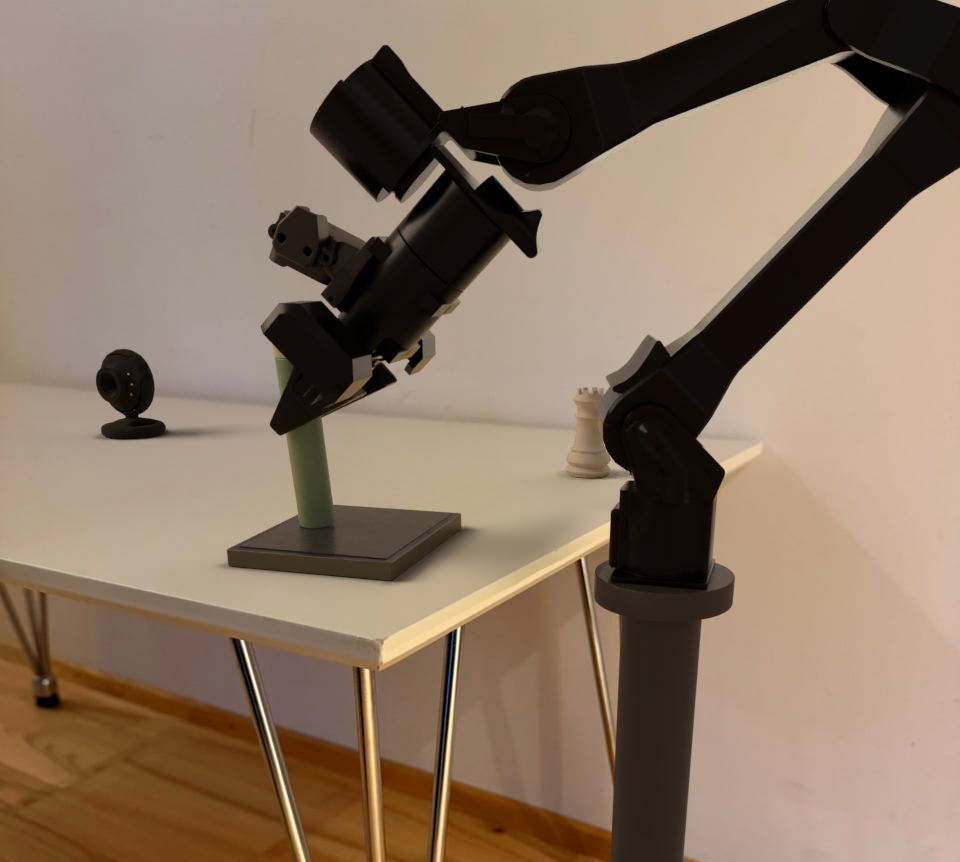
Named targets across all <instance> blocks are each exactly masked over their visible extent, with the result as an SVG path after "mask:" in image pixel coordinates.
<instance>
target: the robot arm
mask: <svg viewBox="0 0 960 862" xmlns="http://www.w3.org/2000/svg"><path fill="white" fill-rule="evenodd" d="M826 64H830V65H832V66H833V67H834V68H837V69H838V70H840V71H841V72H843V73H844V74H846V75H847V76H848V77H849V78H850V79H851V80H853V81H854V82H855V83H856V84H857V85H858V86H860V87H861V89H863V90H864V91H866V92H867V93H868V94H869V95H870V96H871V97H872V98H874V99H875V100H877V101H878V102H879V103H881V104H883V105H885V106H886V108H885V110H884V111H883V112H882V114H881V116H880V118H879V119H878V121H877V123H876V125H875V127H874V128H873V130H872V132H871V134H870V135H869V136H868V137H869V138H868V139H867V141H866V142H865V145H864V146H863V148H862V149H861V151H860V153H858V156H857V157H856V158H855V160H854V161H853V162H851V164H850V165H849V166H848V167H847V168H846V169H845V171H843V172H842V174H840V175H839V176H838V178H837V179H836V180H834V182H833V183H832V184H830V186H829V187H828V188H827V189H826V190H825V191H824V192H823V193H822V194H821V195H820V196H819V198H817V199H816V200H815V201H814V202H813V203H812V204H811V206H810V207H808V208H807V210H806V211H805V212H804V213H803V214H802V215H801V216H800V217H799V218H798V219H797V220H796V221H795V222H794V223H793V224H792V225H791V226H790V227H789V228H788V229H787V230H786V232H784V233H783V234H782V235H781V237H780V238H778V239H777V241H775V243H774V244H773V245H772V246H771V247H770V248H769V249H768V250H767V251H766V252H765V253H764V254H763V255H762V256H761V257H760V258H759V259H758V260H757V261H756V262H755V263H754V265H752V266H751V267H750V269H748V270H747V272H746V273H745V274H744V275H743V276H741V278H740V279H739V280H738V281H737V282H736V283H735V284H734V285H733V286H732V287H731V288H730V289H729V290H728V291H727V292H726V293H725V294H724V295H723V297H721V299H720V300H719V301H718V302H717V303H716V304H715V305H714V306H713V307H711V309H710V310H709V311H708V312H707V313H706V314H705V315H704V316H703V317H702V318H701V319H700V320H699V322H697V323H696V324H695V326H694V327H692V328H691V329H690V330H689V331H687V332H685V333H684V334H683V335H681V336H679V337H677V338H676V339H674V340H673V341H671V342H669V343H668V344H667V345H664V344H663V342H662V341H661V340H660V339H658V338H656V336H654V335H652V334H647V335H646V336H645V337H644V338H643V340H642V341H641V342H640V343H639V345H638V347H636V350H635V351H634V352H633V354H632V355H631V357H630V358H629V360H627V362H626V363H625V364H624V365H622V366H621V367H620V368H619V369H618V370H615V371H612V372H611V373H609V374H607V375H606V376H605V380H606V382H607V383H608V385H609V387H608V388H607V390H606V392H605V393H604V396H603V397H602V398H601V401H600V404H599V406H598V427H599V430H600V433H601V436H602V439H603V442H604V446H605V447H606V452H607V453H608V454H609V456H610V459H612V461H613V462H614V463H615V464H616V465H618V466H619V467H620V468H622V469H624V470H625V471H627V472H628V473H629V475H630V476H631V477H632V480H631V479H629V480H626V481H625V482H624V484H623V485H622V486H621V487H620V488H619V499H618V502H617V503H616V504H615V505H614V507H613V508H612V509H611V510H610V521H609V541H608V542H609V543H608V544H609V545H608V546H609V547H608V560H609V565H610V567H611V568H615V569H614V571H613V572H612V574H611V581H612V582H615V583H625V584H637V585H648V586H660V587H672V588H683V589H695V590H705V589H707V588H708V585H709V582H710V579H711V576H712V573H713V570H714V567H715V563H716V558H713V555H714V544H715V543H714V542H715V532H716V531H715V530H716V529H715V528H716V517H717V505H718V492H719V490H720V487H721V485H722V483H723V480H724V478H725V476H726V471H725V468H724V467H723V466H722V465H721V464H720V462H719V461H718V460H717V459H716V458H715V457H714V456H713V455H712V454H711V453H710V452H709V450H708V449H707V448H706V447H705V446H704V445H703V444H702V442H701V441H699V440H698V437H699V436H700V434H702V432H703V431H704V429H705V428H706V426H707V425H708V424H709V422H710V421H711V420H712V418H713V417H714V415H715V413H716V411H717V409H718V408H719V406H720V404H721V403H722V400H723V399H724V397H725V395H726V393H727V391H728V390H729V388H730V386H731V384H732V382H733V381H734V379H735V378H736V376H737V375H738V374H739V372H740V371H741V370H742V369H743V368H744V367H745V366H746V365H747V364H748V363H749V362H750V361H751V360H752V359H753V358H754V357H755V356H756V355H757V354H758V353H759V352H760V351H762V349H763V348H764V347H766V345H767V344H769V342H770V341H771V340H772V339H773V338H774V337H775V336H776V335H777V334H778V333H779V332H780V331H781V330H782V329H783V328H784V327H785V326H786V325H787V324H788V323H789V322H790V321H791V320H792V319H793V318H794V317H795V316H796V315H797V314H798V313H799V312H800V311H801V310H802V309H803V308H804V307H805V306H806V305H807V304H808V303H809V302H810V301H811V300H812V299H814V297H816V295H817V294H818V293H819V292H821V290H822V289H824V287H825V286H826V285H827V284H828V283H829V282H831V280H832V279H833V278H834V277H835V276H836V275H837V274H838V273H839V272H840V271H841V270H843V268H844V267H846V266H847V264H848V263H850V262H851V260H852V259H854V258H855V256H856V255H858V253H860V251H861V250H862V249H864V247H865V246H866V245H867V244H868V243H869V242H871V240H872V239H873V238H874V237H875V236H876V235H878V233H879V232H881V230H882V229H883V228H885V226H886V225H887V224H888V223H889V222H891V220H893V218H895V217H896V216H897V214H899V213H900V211H901V210H902V209H904V208H905V207H906V205H908V204H909V202H911V201H912V199H915V197H917V196H918V195H920V194H921V193H923V192H924V191H926V190H927V189H929V188H930V187H932V186H934V185H935V184H937V183H938V182H940V181H942V180H943V179H945V178H946V177H948V176H949V175H951V174H952V173H954V172H955V171H957V170H959V169H960V6H957V5H954V4H950V3H949V2H945V1H941V0H784V1H782V2H778V3H775V4H773V5H771V6H769V7H766V8H764V9H760V10H759V11H756V12H753V13H751V14H748V15H746V16H743V17H741V18H739V19H736V20H733V21H731V22H728V23H726V24H723V25H721V26H718V27H715V28H713V29H710V30H708V31H706V32H703V33H701V34H697V35H696V36H693V37H691V38H687V39H685V40H683V41H680V42H678V43H675V44H673V45H670V46H667V47H665V48H663V49H660V50H658V51H655V52H653V53H650V54H647V55H645V56H642V57H639V58H636V59H630V60H626V61H621V62H620V61H619V62H614V63H603V64H591V65H589V64H588V65H582V66H581V65H580V66H575V67H571V68H565V69H560V70H554V71H550V72H545V73H539V74H538V73H537V74H534V75H530V76H527V77H524V78H521V79H520V80H518V81H517V82H515V83H513V84H512V85H511V86H509V88H508V89H506V90H505V92H504V93H503V94H502V95H501V97H500V99H499V100H497V101H492V102H486V103H481V104H476V105H475V104H474V105H470V106H469V105H468V106H464V105H461V106H460V107H459V108H453V109H447V110H444V109H442V107H441V106H440V105H439V103H437V102H436V101H435V99H434V98H433V97H431V96H430V94H429V93H428V92H427V91H426V90H425V89H424V88H423V86H421V85H420V84H419V83H418V81H417V80H416V79H415V78H414V77H413V76H412V75H411V72H410V71H409V69H408V67H407V66H406V64H405V63H404V61H403V60H402V59H401V58H400V57H399V55H398V54H397V53H396V52H395V51H394V50H393V49H392V48H391V46H389V44H383V45H381V47H380V48H379V49H378V50H377V52H376V53H375V54H374V55H373V56H372V57H371V58H370V59H368V60H366V61H364V62H363V63H361V64H360V65H358V67H356V68H355V69H354V70H353V71H352V72H351V73H350V74H349V75H348V76H347V77H346V78H344V80H343V79H342V78H340V79H339V80H338V81H337V82H336V83H335V84H334V86H333V87H332V89H331V90H330V91H329V92H328V93H327V95H326V96H325V97H324V99H323V100H322V102H321V103H320V105H319V106H318V108H317V110H316V112H315V114H314V115H313V118H312V119H311V122H310V126H309V133H310V135H312V137H313V138H314V139H315V140H316V141H317V142H318V143H319V144H320V145H321V146H322V147H323V148H324V149H325V150H326V151H327V152H328V153H329V155H330V156H331V157H333V159H335V160H336V162H337V163H338V164H339V165H340V166H341V167H342V168H343V169H344V170H345V171H346V172H347V173H348V174H349V175H350V176H351V177H352V178H353V179H354V180H355V182H357V184H359V186H360V187H361V188H362V189H364V191H365V192H366V193H367V194H368V195H369V196H370V197H371V198H372V199H373V200H374V201H375V202H376V203H381V202H383V201H384V200H386V199H387V198H388V197H390V196H391V195H392V194H394V198H395V199H396V200H397V201H398V202H399V204H404V203H406V201H408V200H409V199H411V197H412V196H413V195H414V194H415V193H416V192H417V191H418V190H419V189H420V188H421V187H422V186H423V184H424V183H426V182H427V180H428V179H429V177H430V176H431V175H432V173H434V172H435V170H436V168H437V167H438V166H439V165H441V167H442V168H443V169H444V170H443V171H442V173H440V175H439V176H438V177H437V179H436V180H435V181H434V182H433V183H432V184H431V186H430V187H429V188H428V189H427V191H426V192H424V194H423V195H422V196H421V198H419V200H418V201H417V202H416V204H415V205H413V207H412V208H411V209H410V210H409V212H408V213H407V214H406V215H405V216H404V217H403V219H402V220H401V221H400V222H399V223H398V225H396V227H395V228H394V229H393V230H392V231H391V233H390V234H389V236H384V235H383V236H380V235H378V236H371V237H370V238H369V239H368V240H367V241H365V240H364V239H362V238H360V237H358V236H356V235H354V234H352V233H350V232H348V231H347V230H345V229H342V228H341V227H339V226H337V225H335V224H333V223H331V222H329V221H328V218H327V216H325V215H323V214H318V213H315V212H312V211H311V208H310V207H308V206H306V205H295V206H293V208H292V209H291V210H288V209H285V210H283V211H280V212H279V215H278V218H277V220H276V221H275V223H271V224H269V226H268V228H267V234H268V237H269V238H270V239H271V240H272V241H271V244H272V247H271V250H270V253H269V256H268V259H269V261H270V262H272V263H274V264H276V265H278V266H279V267H281V268H286V267H287V268H289V269H292V270H294V271H296V272H298V273H300V274H301V275H304V276H306V277H308V278H309V279H312V280H313V281H314V282H316V283H319V284H321V285H324V286H326V287H325V288H324V289H323V290H322V292H320V296H321V297H322V298H323V299H324V300H325V301H326V302H327V303H328V304H329V305H330V306H331V307H332V308H333V309H336V310H337V311H338V312H339V314H338V316H336V314H335V313H333V312H332V310H330V308H329V307H328V306H327V305H326V304H325V303H324V302H323V301H322V300H295V301H287V302H286V301H285V302H278V303H277V304H276V306H275V307H274V308H273V310H272V311H271V312H270V313H269V315H268V316H267V317H266V318H265V320H264V321H263V322H262V324H261V325H260V329H261V332H262V335H263V336H264V337H265V338H266V339H267V340H268V341H269V342H270V343H271V344H272V346H273V345H274V346H275V347H276V348H277V349H278V350H279V351H280V352H281V353H282V354H283V356H284V357H285V358H286V359H287V360H288V361H289V362H290V363H291V364H292V365H293V369H292V372H291V374H290V377H289V380H288V382H287V384H286V387H285V389H284V391H283V394H282V396H281V397H280V398H279V401H278V403H277V406H276V408H275V410H274V412H273V414H272V417H271V419H270V422H269V427H270V428H271V429H272V431H274V432H275V433H276V435H278V436H284V435H286V433H288V432H290V431H292V430H294V429H296V428H298V427H300V426H302V425H304V424H306V423H308V422H310V421H312V420H315V419H317V418H319V417H322V418H325V417H327V416H329V415H331V414H332V413H335V412H337V411H339V410H341V409H344V408H345V407H346V408H347V407H348V406H350V405H352V404H354V403H356V402H359V401H361V400H363V399H365V398H367V397H369V396H372V395H373V394H375V393H377V392H380V391H382V390H384V389H386V388H388V387H391V386H392V385H395V384H396V383H397V382H398V379H397V377H396V375H395V374H394V373H393V372H392V371H391V370H390V369H389V368H388V367H387V365H386V364H388V365H391V364H394V363H396V362H400V361H403V360H408V362H407V363H406V365H405V367H404V369H403V370H404V372H406V374H407V375H409V376H413V375H416V374H419V373H420V372H421V371H423V369H424V368H425V367H426V366H427V365H428V364H429V362H430V361H431V360H433V358H434V357H435V356H436V353H437V351H436V336H435V334H434V333H433V332H432V331H431V330H430V329H432V327H434V325H435V324H436V323H437V322H438V320H439V319H441V318H442V316H444V315H445V316H446V315H449V314H452V313H453V312H454V311H455V309H456V308H458V306H459V305H460V304H461V303H462V301H461V300H460V299H459V298H460V296H462V294H463V293H464V292H465V291H466V290H467V289H468V288H469V286H470V285H471V284H472V283H474V281H475V280H476V279H477V278H478V276H480V274H481V273H482V272H483V271H484V270H485V269H486V268H487V267H488V265H489V264H490V263H491V262H492V261H494V259H495V258H496V257H497V255H499V253H500V252H501V251H502V250H503V249H504V248H505V247H506V246H507V245H508V243H509V242H513V244H514V245H515V246H516V247H517V248H518V249H519V250H520V252H522V253H523V254H524V255H525V257H526V258H528V259H535V258H536V257H537V256H538V255H539V254H540V253H541V252H542V250H543V241H542V226H543V221H544V218H545V216H546V215H545V214H546V213H545V210H544V209H543V208H535V209H526V208H524V207H523V206H522V205H521V204H520V203H519V201H517V199H516V198H515V197H514V196H513V195H512V194H511V193H510V192H509V191H508V190H507V188H506V187H505V186H504V185H503V184H502V183H501V182H500V180H498V179H497V178H496V176H494V175H492V174H491V175H489V176H488V177H487V178H486V179H484V180H483V181H482V182H480V181H479V180H478V179H477V178H476V177H475V176H474V175H473V174H471V172H470V171H469V170H467V168H466V167H465V166H464V165H463V164H462V163H461V162H460V161H459V160H458V159H457V158H456V157H455V156H454V155H453V153H452V152H451V151H450V150H449V149H448V148H447V147H446V146H445V145H446V144H447V143H448V142H449V141H451V142H452V143H454V145H455V146H456V147H457V148H458V149H459V151H461V152H462V153H463V155H464V156H466V158H467V159H468V160H469V161H472V162H476V163H481V164H486V165H490V166H495V167H500V168H501V170H502V172H503V173H504V175H506V176H507V178H508V179H509V180H510V181H511V182H512V183H513V184H515V185H518V186H519V187H521V188H523V189H525V190H527V191H530V192H545V191H551V190H554V189H556V188H558V187H560V186H562V185H563V184H566V183H567V182H569V181H570V180H572V179H574V178H576V177H577V176H579V175H580V174H582V173H584V172H585V171H587V170H589V169H590V168H592V167H593V166H595V165H597V164H599V163H600V162H602V161H603V160H605V159H606V158H608V157H609V156H611V155H613V154H614V153H616V152H617V151H619V150H621V149H622V148H624V147H625V146H627V145H628V144H630V143H632V142H633V141H635V140H636V139H638V138H640V137H642V136H644V135H645V134H647V133H648V132H650V131H653V130H655V129H658V128H661V127H663V126H665V125H668V124H671V123H673V122H676V121H679V120H682V119H684V118H687V117H689V116H692V115H695V114H697V113H700V112H702V111H705V110H708V109H711V108H712V107H716V106H718V105H720V104H723V103H726V102H728V101H731V100H733V99H736V98H739V97H741V96H744V95H747V94H749V93H752V92H754V91H757V90H760V89H763V88H765V87H768V86H770V85H773V84H776V83H778V82H781V81H783V80H786V79H788V78H791V77H794V76H797V75H799V74H802V73H804V72H807V71H810V70H812V69H815V68H817V67H820V66H824V65H826Z"/></svg>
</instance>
